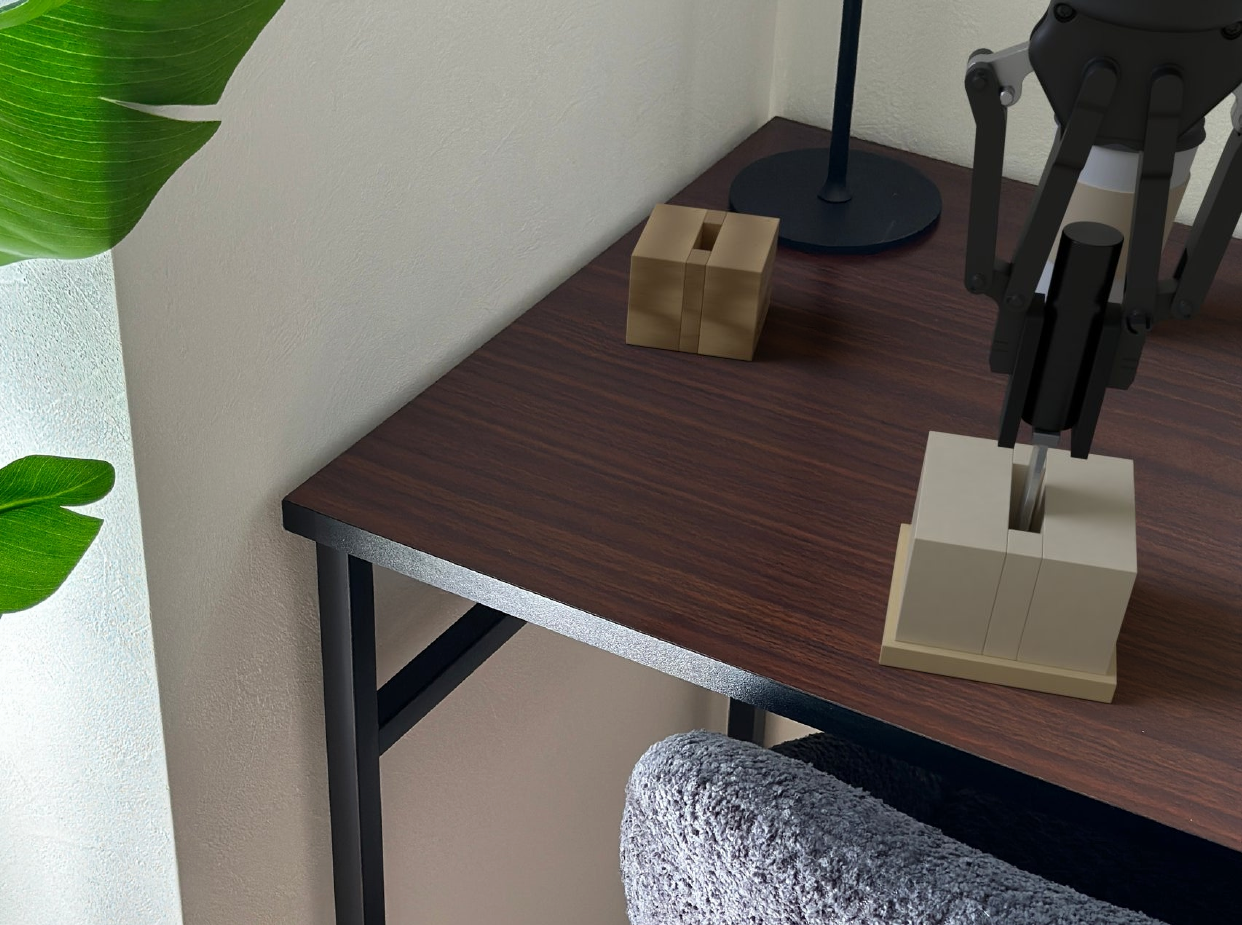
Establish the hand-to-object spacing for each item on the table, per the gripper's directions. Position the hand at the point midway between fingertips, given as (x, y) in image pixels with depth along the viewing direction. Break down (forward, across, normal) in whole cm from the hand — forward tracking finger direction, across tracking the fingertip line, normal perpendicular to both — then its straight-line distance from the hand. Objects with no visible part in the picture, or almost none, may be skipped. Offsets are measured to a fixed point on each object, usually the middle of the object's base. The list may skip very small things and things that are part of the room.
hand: (1042, 437), depth 80 cm
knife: (+8, 0, 0) cm, 8 cm away
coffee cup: (+11, +4, +36) cm, 38 cm away
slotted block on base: (+11, 0, 0) cm, 11 cm away
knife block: (+11, -20, +27) cm, 35 cm away
